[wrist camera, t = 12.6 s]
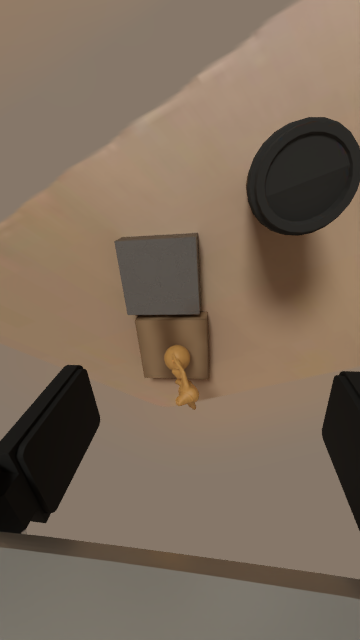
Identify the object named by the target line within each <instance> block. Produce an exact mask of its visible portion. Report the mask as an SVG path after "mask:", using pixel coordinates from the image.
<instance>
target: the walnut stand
mask: <svg viewBox="0 0 360 640" xmlns="http://www.w3.org/2000/svg"><path fill="white" fill-rule="evenodd" d="M135 324H136V330H137V336H138V342H139V348H140V353H141V359H142V365H143V371H144V377H145V378H176V376H175V375H174V374H173V373H172V370H171V369H169V368H168V367H167V366H166V364H165V361H164V355H165V352H166V351H167V349H168V348H170V347H171V346H174V345H181V346H183V347H185V348H186V349H187V350H188V352H189V354H190V363H189V365H188V366H187V367H186V368H185V369H184V371H185V373H186V376H187V379H209V343H208V312H200V314H176V315H138V317H137V318H136V320H135Z"/></svg>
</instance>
